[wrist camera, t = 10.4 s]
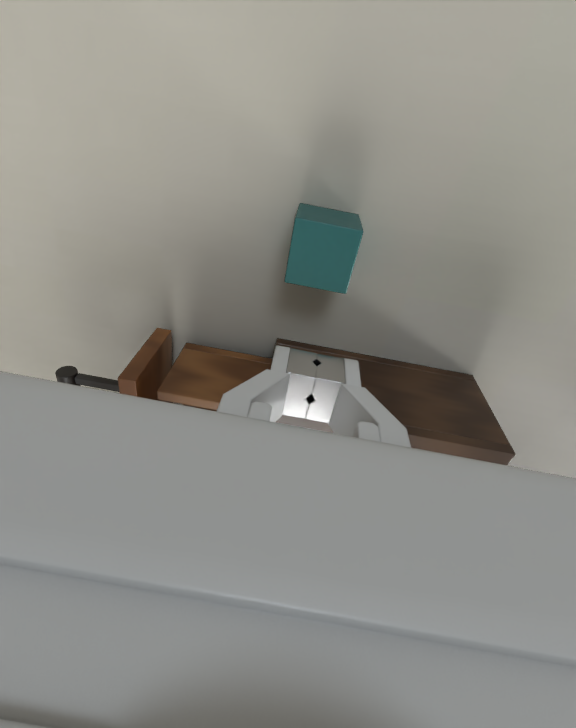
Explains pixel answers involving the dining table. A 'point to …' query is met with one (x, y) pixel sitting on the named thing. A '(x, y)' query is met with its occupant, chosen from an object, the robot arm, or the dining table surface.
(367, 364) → the cabinet
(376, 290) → the dining table surface
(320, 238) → the block
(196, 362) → the drawer
